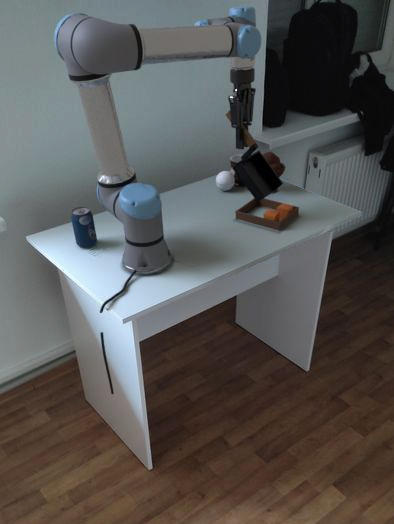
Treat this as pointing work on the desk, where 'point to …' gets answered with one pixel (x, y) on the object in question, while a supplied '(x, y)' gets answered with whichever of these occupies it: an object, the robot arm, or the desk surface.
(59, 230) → the desk surface
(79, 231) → the soda can
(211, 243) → the desk surface
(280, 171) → the ice cream bowl
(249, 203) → the tray
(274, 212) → the block
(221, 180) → the white oval piece
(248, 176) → the pan
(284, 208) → the block
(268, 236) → the desk surface
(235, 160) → the coffee mug
